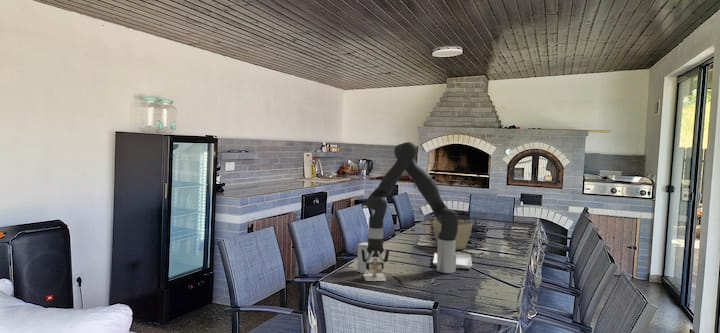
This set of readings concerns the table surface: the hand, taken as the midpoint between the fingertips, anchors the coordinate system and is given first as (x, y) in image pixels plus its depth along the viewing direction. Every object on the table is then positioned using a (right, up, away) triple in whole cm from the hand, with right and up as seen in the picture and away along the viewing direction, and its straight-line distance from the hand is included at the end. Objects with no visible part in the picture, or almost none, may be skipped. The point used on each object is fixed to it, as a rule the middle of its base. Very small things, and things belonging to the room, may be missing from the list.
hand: (374, 269), depth 215 cm
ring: (0, -1, 0) cm, 1 cm away
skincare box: (-4, -4, +12) cm, 13 cm away
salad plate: (+45, -5, +31) cm, 55 cm away
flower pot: (+52, -2, +69) cm, 87 cm away
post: (0, -4, 0) cm, 4 cm away
